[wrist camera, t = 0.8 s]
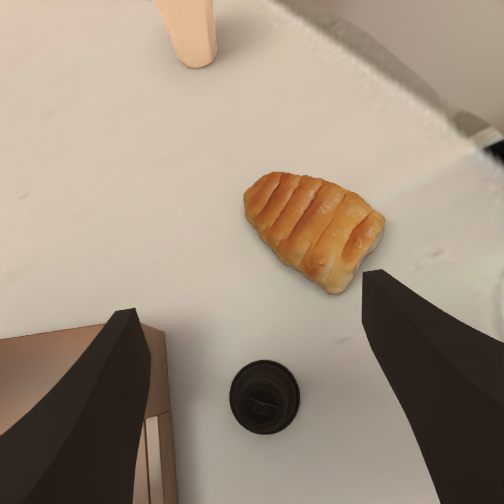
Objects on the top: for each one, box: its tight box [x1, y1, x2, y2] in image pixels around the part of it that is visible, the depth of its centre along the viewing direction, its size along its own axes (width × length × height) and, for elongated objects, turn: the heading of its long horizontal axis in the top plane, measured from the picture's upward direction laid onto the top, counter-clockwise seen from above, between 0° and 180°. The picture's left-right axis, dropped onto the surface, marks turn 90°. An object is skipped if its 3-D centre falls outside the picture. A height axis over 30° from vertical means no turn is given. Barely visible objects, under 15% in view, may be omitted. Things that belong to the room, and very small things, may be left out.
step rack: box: [0, 323, 178, 504], centre depth 23 cm, size 12×13×6 cm
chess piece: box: [229, 360, 300, 435], centre depth 21 cm, size 4×4×10 cm
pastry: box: [244, 172, 385, 294], centre depth 27 cm, size 9×7×4 cm
